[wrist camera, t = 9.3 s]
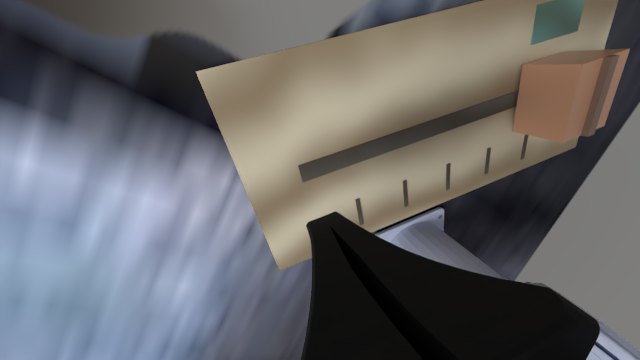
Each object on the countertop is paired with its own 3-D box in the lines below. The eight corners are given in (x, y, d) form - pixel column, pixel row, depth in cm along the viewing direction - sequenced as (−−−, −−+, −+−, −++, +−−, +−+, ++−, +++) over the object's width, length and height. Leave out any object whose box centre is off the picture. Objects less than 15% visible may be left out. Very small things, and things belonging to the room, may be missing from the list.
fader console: (542, 139, 27) (576, 147, 24) (273, 245, 21) (280, 271, 18) (577, -23, 20) (630, -37, 17) (201, 70, 15) (195, 71, 12)
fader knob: (549, 117, 21) (611, 127, 17) (512, 131, 20) (569, 144, 17) (564, 51, 18) (639, 48, 15) (522, 64, 18) (591, 64, 14)
